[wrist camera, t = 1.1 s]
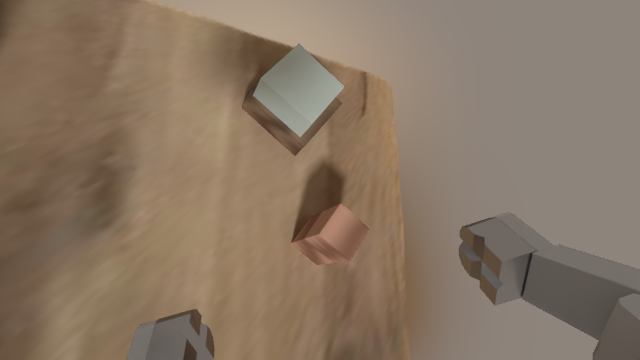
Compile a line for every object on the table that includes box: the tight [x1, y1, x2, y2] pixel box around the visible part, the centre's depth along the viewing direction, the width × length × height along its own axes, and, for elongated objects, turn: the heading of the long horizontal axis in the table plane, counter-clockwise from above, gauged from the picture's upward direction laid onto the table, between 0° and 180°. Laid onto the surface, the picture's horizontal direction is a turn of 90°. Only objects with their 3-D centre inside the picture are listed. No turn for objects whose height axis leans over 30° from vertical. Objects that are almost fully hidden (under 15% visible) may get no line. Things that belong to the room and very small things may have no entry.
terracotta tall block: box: [292, 203, 369, 265], centre depth 43 cm, size 5×5×10 cm
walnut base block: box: [242, 86, 342, 156], centre depth 50 cm, size 11×11×4 cm
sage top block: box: [253, 44, 344, 137], centre depth 46 cm, size 9×9×4 cm
